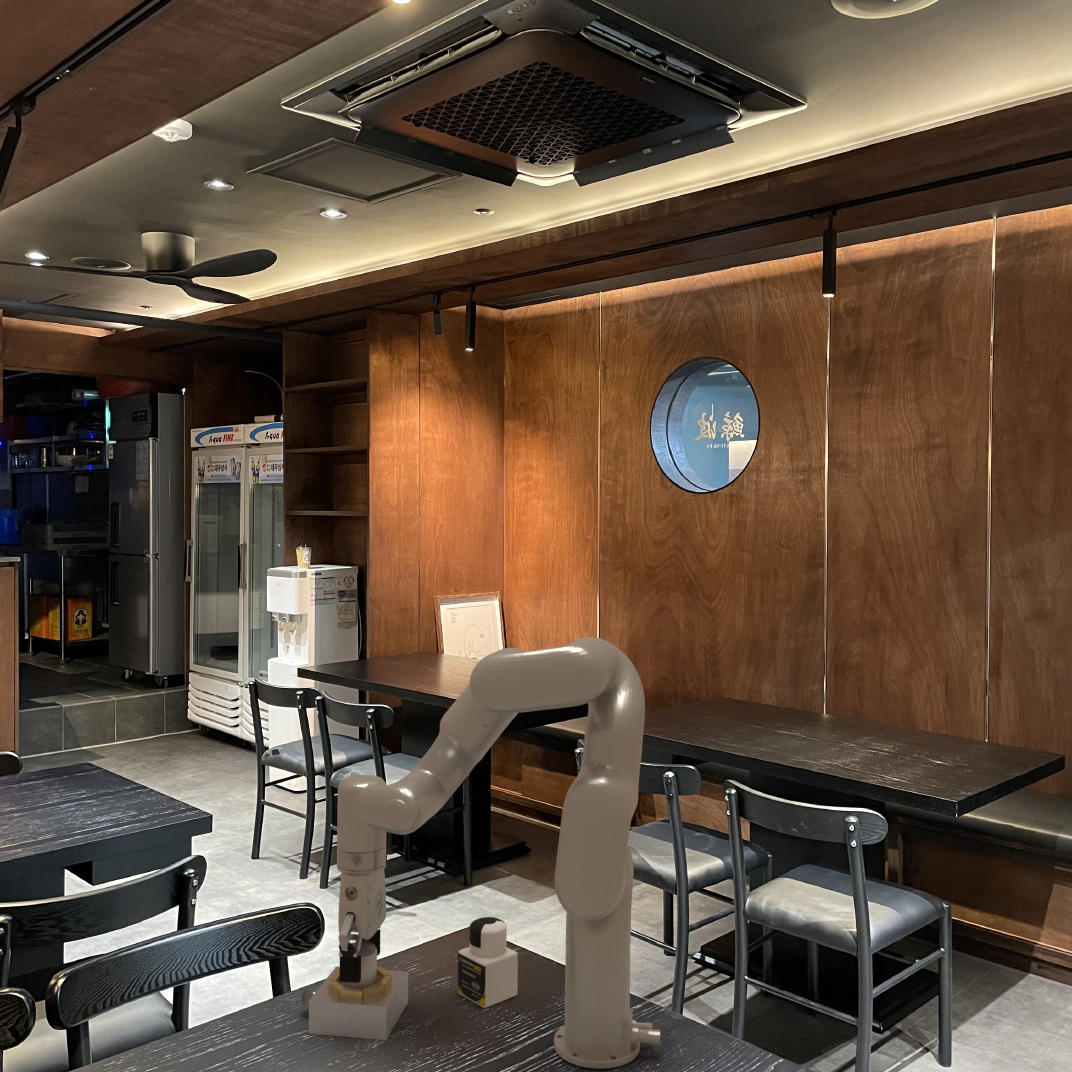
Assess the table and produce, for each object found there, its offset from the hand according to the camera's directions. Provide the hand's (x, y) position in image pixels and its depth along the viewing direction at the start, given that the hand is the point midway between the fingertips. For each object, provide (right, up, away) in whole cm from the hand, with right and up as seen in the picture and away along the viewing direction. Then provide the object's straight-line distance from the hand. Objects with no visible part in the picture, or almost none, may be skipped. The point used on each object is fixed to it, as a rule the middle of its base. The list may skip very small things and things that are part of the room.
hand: (360, 967), depth 156 cm
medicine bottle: (+19, -8, +8) cm, 23 cm away
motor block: (-2, -8, 0) cm, 8 cm away
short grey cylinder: (0, -3, 0) cm, 3 cm away
